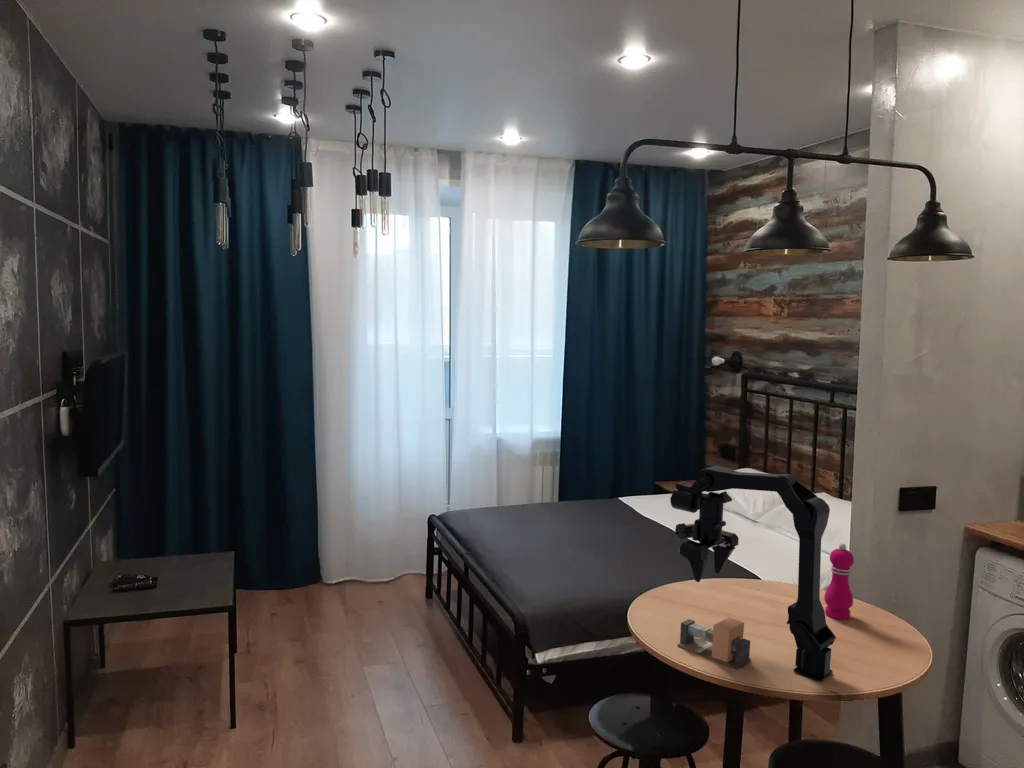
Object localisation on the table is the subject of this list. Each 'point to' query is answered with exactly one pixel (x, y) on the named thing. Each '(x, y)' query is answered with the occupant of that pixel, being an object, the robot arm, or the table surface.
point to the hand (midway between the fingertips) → (707, 577)
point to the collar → (726, 638)
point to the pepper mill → (839, 585)
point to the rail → (705, 649)
